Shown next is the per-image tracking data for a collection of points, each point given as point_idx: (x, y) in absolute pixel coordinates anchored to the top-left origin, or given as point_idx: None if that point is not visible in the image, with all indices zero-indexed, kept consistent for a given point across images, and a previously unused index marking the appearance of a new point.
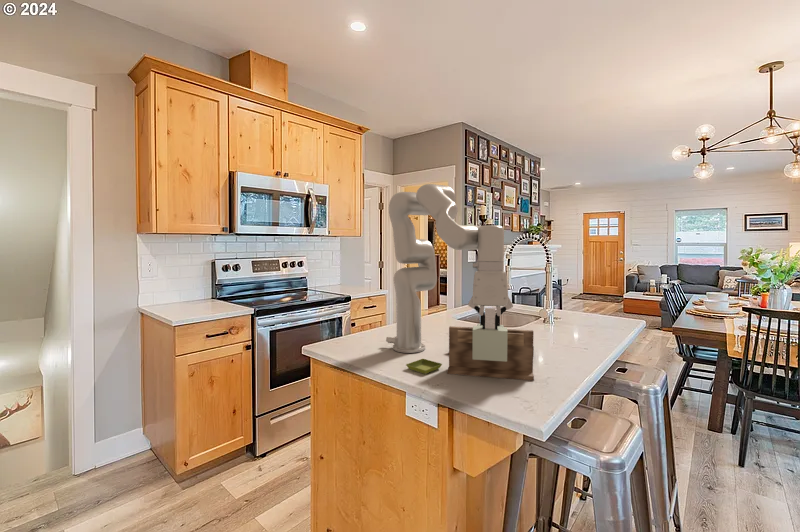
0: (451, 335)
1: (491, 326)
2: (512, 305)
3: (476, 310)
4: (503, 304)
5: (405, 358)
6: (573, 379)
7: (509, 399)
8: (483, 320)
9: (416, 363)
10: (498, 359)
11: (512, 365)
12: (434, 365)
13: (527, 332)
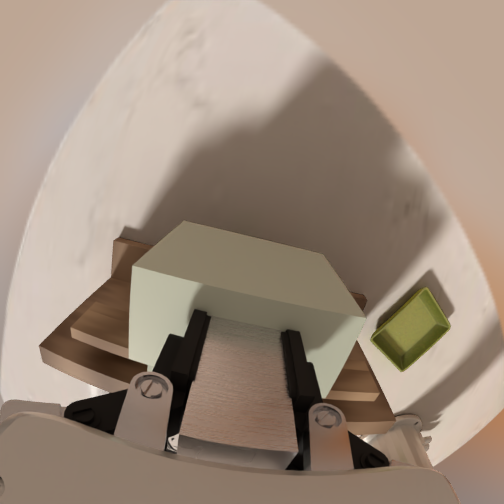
0: (378, 398)
1: (234, 332)
2: (3, 410)
3: (366, 445)
4: (46, 423)
5: (419, 387)
6: (38, 245)
7: (225, 88)
8: (302, 366)
9: (421, 347)
10: (217, 229)
11: None
12: (383, 343)
13: (60, 351)
